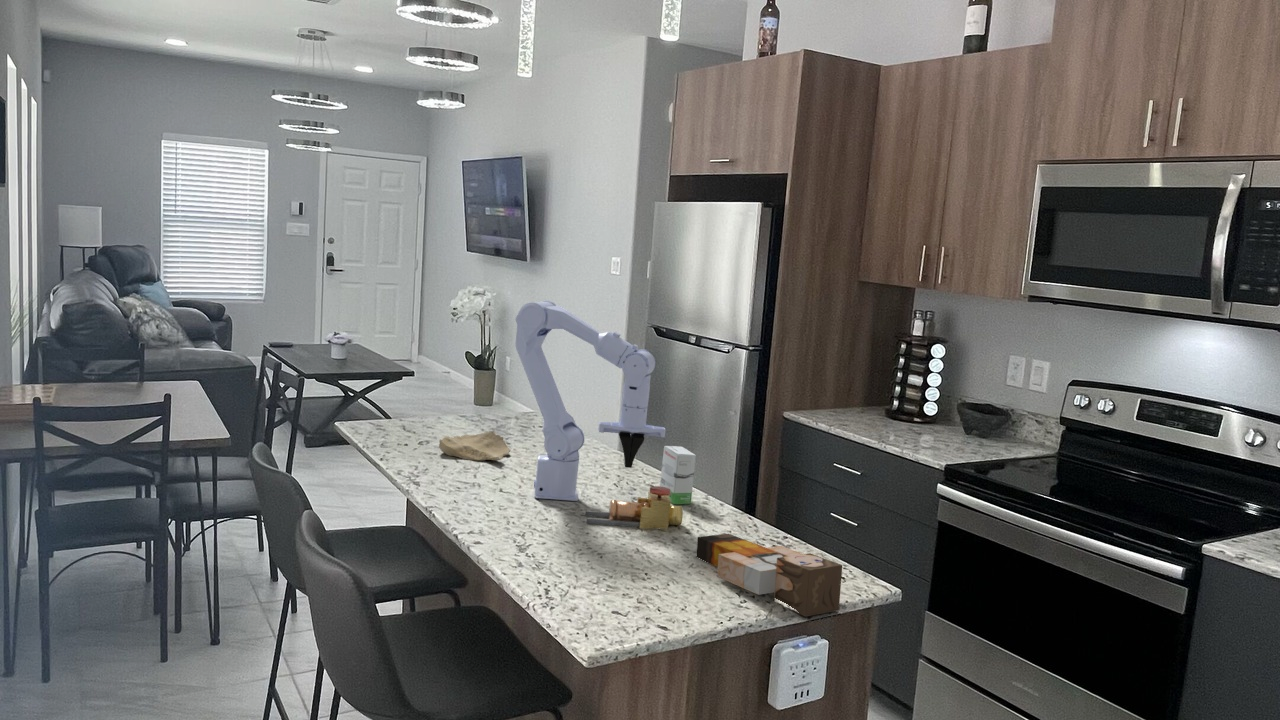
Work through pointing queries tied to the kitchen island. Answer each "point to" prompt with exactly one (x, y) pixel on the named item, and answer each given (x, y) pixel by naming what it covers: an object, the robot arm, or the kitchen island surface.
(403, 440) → the kitchen island surface
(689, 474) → the ink box
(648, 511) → the valve
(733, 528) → the kitchen island surface
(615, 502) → the coupling
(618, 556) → the kitchen island surface
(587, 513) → the rails
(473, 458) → the rock
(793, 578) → the toy
